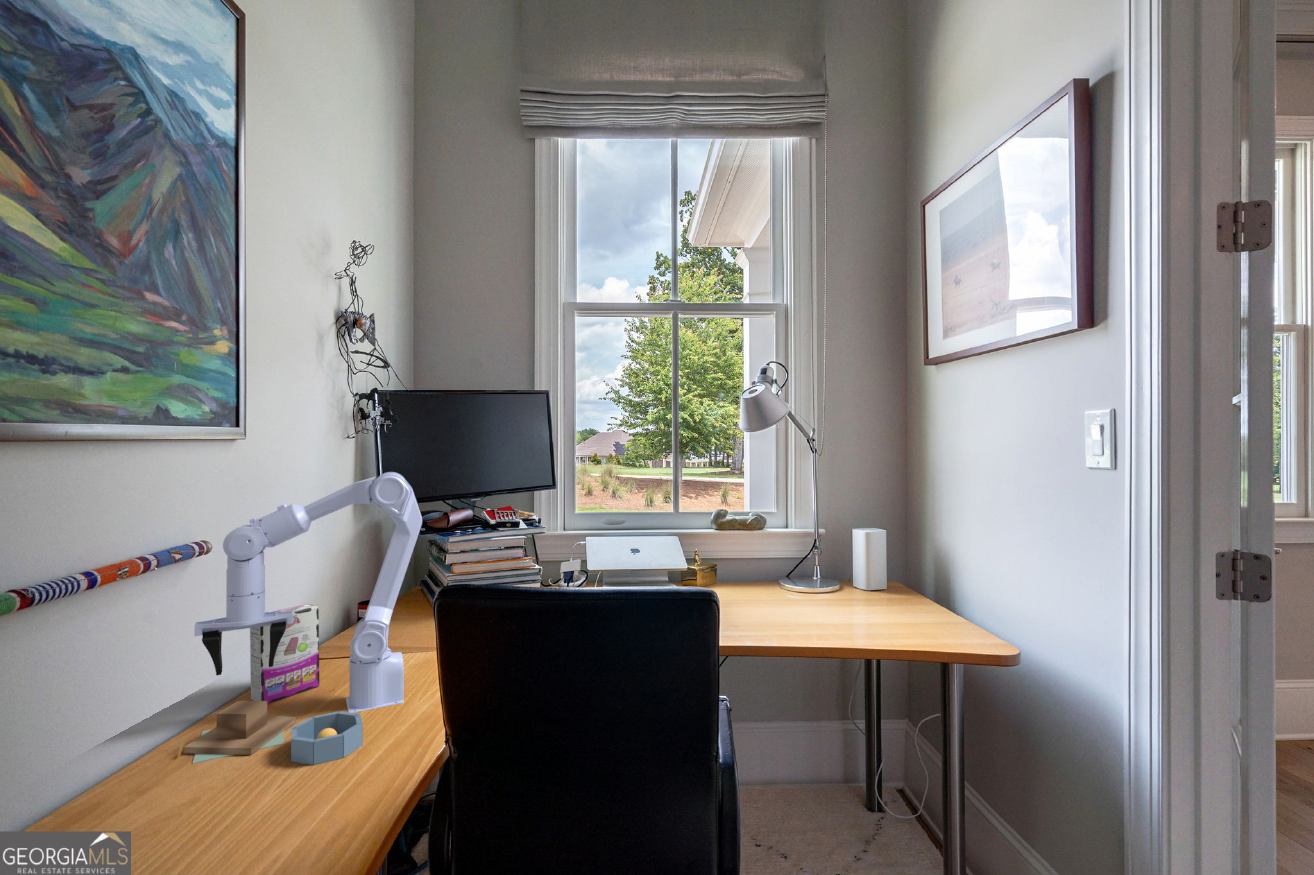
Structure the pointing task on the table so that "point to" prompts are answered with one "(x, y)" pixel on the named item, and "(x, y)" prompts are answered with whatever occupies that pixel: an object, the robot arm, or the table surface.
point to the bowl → (326, 738)
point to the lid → (240, 730)
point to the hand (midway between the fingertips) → (245, 669)
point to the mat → (206, 757)
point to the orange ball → (326, 733)
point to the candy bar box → (286, 657)
